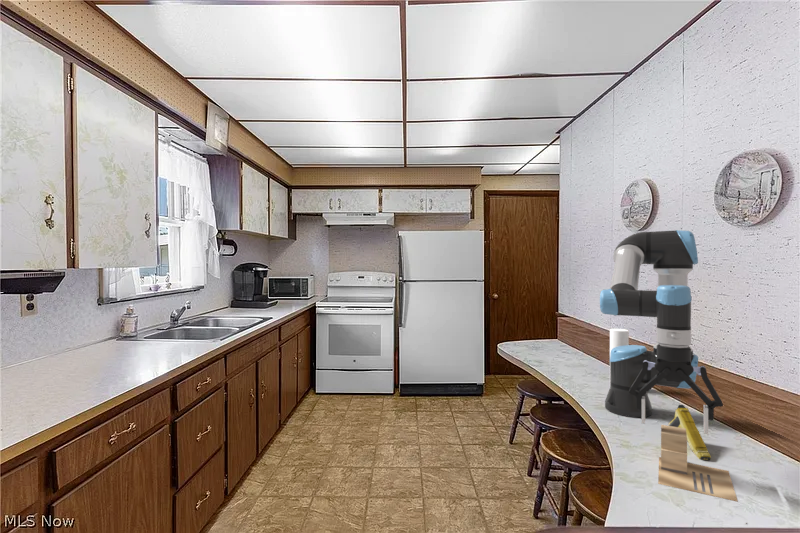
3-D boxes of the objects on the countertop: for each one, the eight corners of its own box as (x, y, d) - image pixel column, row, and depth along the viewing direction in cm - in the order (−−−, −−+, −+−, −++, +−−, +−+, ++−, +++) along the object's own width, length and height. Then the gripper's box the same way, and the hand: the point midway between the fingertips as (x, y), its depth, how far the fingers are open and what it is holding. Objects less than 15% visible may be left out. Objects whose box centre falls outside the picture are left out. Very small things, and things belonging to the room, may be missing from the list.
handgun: (676, 426, 135) (684, 400, 128) (700, 484, 119) (712, 457, 113) (667, 425, 135) (675, 400, 129) (690, 483, 119) (701, 456, 113)
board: (658, 462, 116) (658, 456, 116) (728, 476, 108) (728, 470, 108) (658, 489, 102) (658, 483, 102) (737, 508, 94) (737, 501, 94)
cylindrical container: (631, 389, 181) (631, 330, 180) (623, 392, 176) (623, 331, 176) (615, 385, 186) (614, 328, 186) (606, 388, 182) (606, 329, 182)
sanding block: (661, 456, 116) (661, 423, 116) (685, 461, 113) (685, 427, 113) (661, 469, 109) (661, 434, 109) (687, 474, 106) (687, 438, 106)
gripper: (618, 342, 114) (618, 422, 114) (736, 352, 101) (736, 442, 101) (620, 338, 120) (620, 414, 120) (732, 347, 107) (732, 432, 107)
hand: (673, 427), depth 111 cm, fingers open, 13 cm apart
